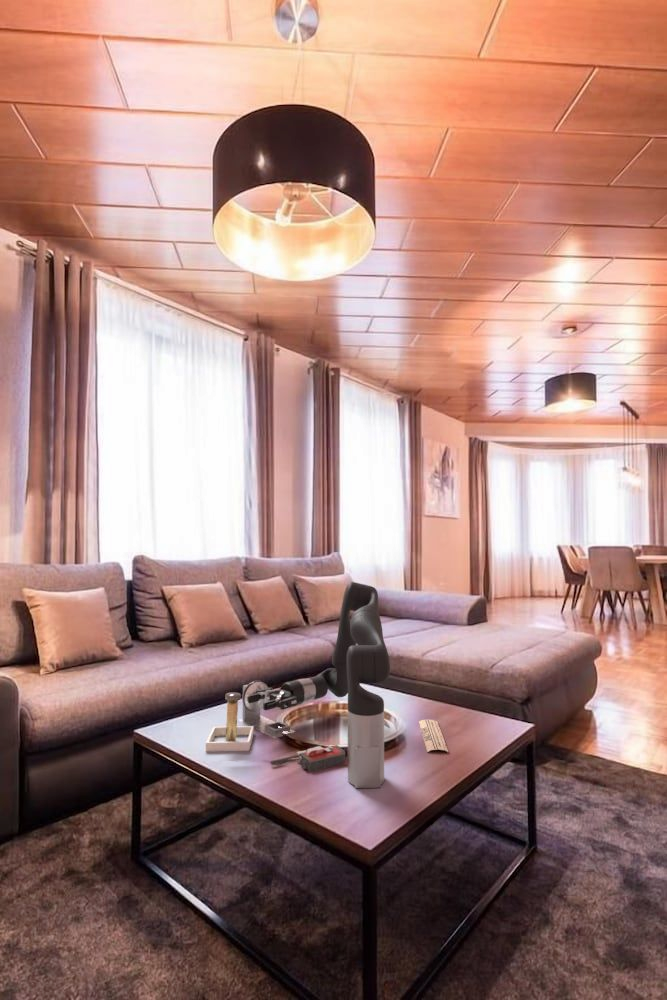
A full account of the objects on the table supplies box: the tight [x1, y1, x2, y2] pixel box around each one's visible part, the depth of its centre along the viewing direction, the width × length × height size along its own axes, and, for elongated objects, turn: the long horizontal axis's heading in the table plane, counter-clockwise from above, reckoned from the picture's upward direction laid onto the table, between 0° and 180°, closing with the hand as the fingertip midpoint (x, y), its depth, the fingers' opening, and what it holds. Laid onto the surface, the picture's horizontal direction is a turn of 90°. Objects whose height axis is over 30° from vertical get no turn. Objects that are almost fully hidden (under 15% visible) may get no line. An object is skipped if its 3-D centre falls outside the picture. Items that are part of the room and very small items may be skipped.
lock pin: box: [225, 691, 242, 742], centre depth 155 cm, size 4×4×14 cm
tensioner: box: [238, 679, 297, 739], centre depth 168 cm, size 20×10×14 cm, turn 41°
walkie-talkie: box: [270, 745, 346, 772], centre depth 144 cm, size 9×4×20 cm
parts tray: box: [205, 725, 255, 752], centre depth 155 cm, size 12×12×4 cm
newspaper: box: [418, 719, 450, 754], centre depth 162 cm, size 24×7×2 cm, turn 177°
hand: (255, 703), depth 161 cm, fingers open, 8 cm apart
